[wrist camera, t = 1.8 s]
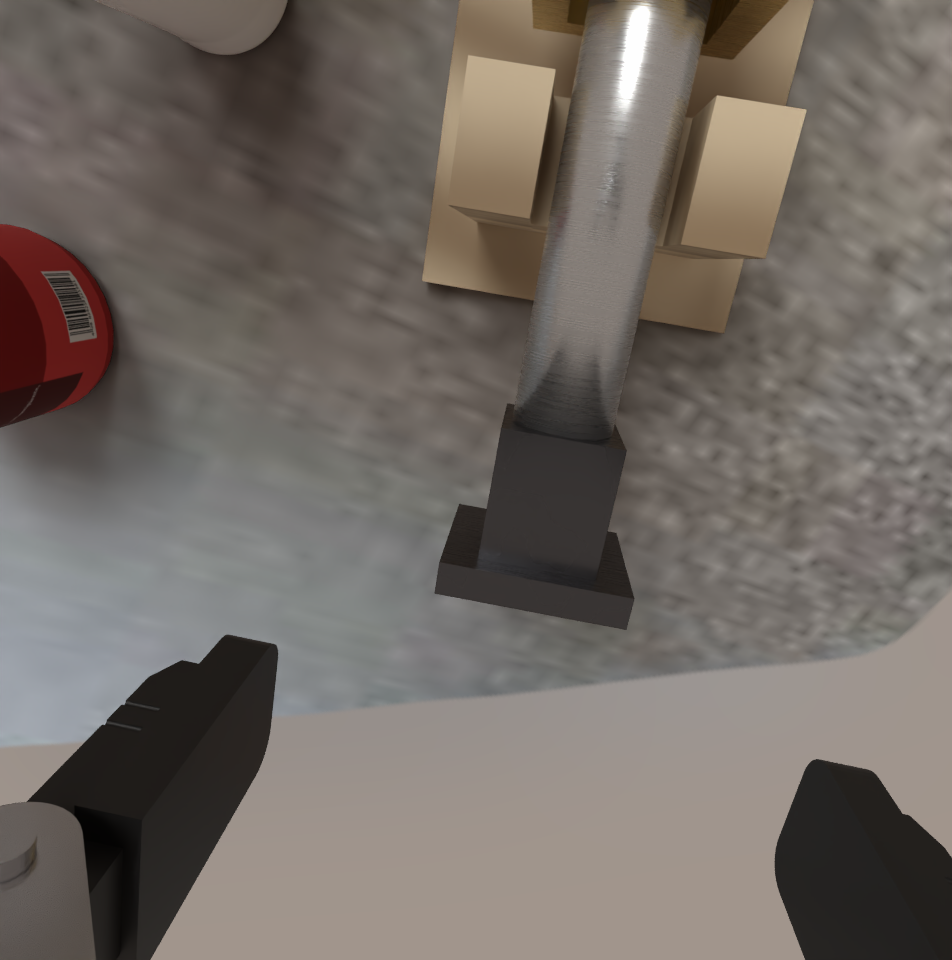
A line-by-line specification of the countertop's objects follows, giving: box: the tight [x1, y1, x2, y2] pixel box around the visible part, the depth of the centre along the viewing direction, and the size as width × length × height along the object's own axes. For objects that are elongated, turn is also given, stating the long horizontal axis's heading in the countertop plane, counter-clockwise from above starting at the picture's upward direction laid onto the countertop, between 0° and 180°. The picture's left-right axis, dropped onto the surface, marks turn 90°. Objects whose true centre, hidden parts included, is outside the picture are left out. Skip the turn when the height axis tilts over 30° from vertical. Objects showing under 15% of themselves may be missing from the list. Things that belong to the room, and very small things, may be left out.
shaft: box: [435, 0, 712, 630], centre depth 19 cm, size 23×6×5 cm, turn 171°
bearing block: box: [422, 0, 814, 333], centre depth 21 cm, size 16×12×10 cm
